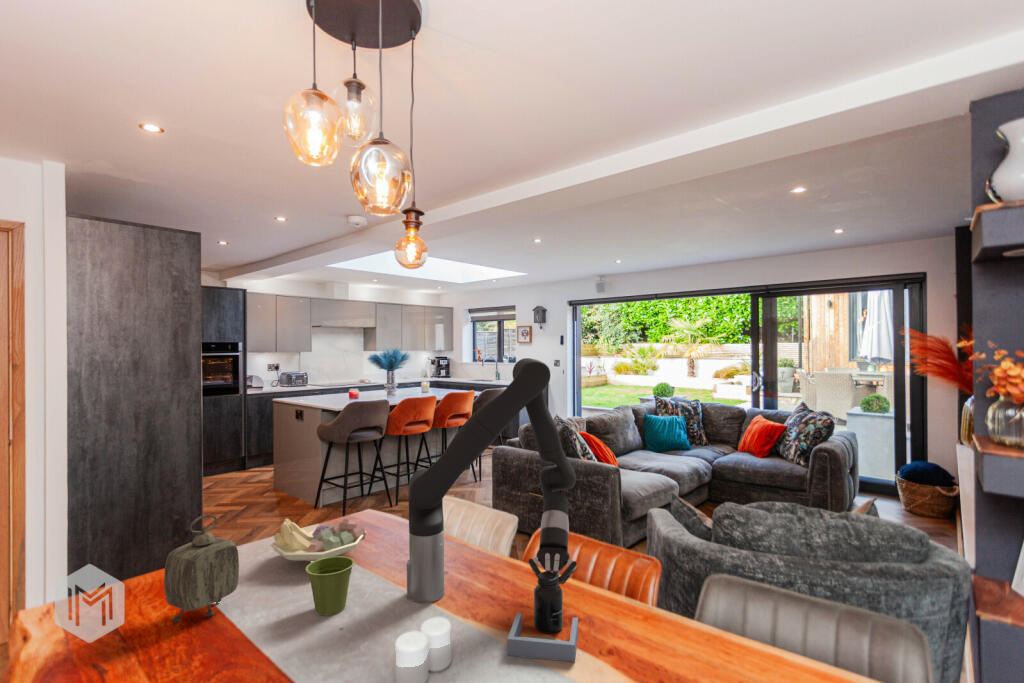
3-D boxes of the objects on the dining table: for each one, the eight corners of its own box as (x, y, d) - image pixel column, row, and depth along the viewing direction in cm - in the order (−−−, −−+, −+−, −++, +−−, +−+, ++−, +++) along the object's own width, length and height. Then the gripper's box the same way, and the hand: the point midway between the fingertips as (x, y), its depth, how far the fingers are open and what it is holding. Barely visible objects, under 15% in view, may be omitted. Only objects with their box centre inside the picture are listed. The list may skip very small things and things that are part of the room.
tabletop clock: (220, 598, 137) (220, 505, 138) (243, 605, 133) (242, 509, 134) (164, 625, 124) (163, 521, 125) (186, 633, 120) (186, 527, 121)
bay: (507, 655, 110) (507, 638, 110) (517, 627, 121) (516, 612, 121) (574, 662, 107) (574, 645, 107) (578, 632, 118) (578, 617, 118)
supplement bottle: (560, 636, 117) (559, 583, 117) (531, 632, 118) (530, 580, 119) (565, 620, 123) (564, 570, 124) (537, 617, 125) (536, 568, 125)
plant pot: (364, 602, 134) (364, 559, 134) (331, 625, 123) (330, 578, 123) (330, 594, 139) (330, 552, 139) (295, 615, 128) (294, 570, 128)
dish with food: (252, 562, 159) (254, 517, 159) (330, 536, 182) (331, 496, 182) (305, 590, 143) (307, 540, 143) (383, 557, 166) (385, 514, 166)
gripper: (528, 524, 136) (522, 592, 123) (578, 526, 133) (577, 596, 121) (531, 537, 141) (525, 603, 129) (579, 539, 138) (578, 607, 126)
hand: (550, 600), depth 125 cm, fingers closed
